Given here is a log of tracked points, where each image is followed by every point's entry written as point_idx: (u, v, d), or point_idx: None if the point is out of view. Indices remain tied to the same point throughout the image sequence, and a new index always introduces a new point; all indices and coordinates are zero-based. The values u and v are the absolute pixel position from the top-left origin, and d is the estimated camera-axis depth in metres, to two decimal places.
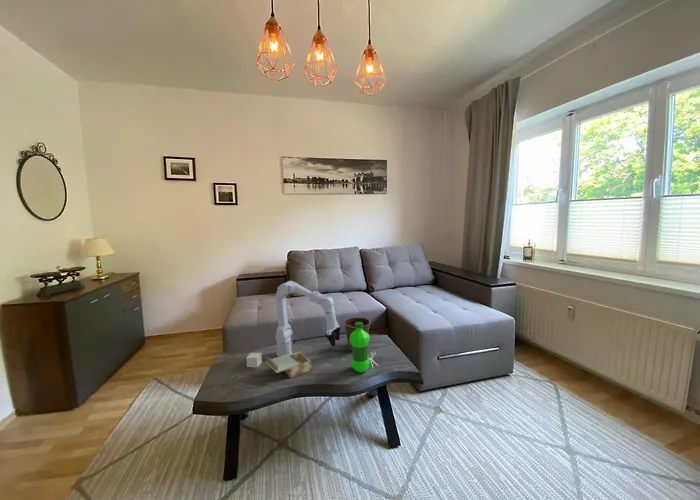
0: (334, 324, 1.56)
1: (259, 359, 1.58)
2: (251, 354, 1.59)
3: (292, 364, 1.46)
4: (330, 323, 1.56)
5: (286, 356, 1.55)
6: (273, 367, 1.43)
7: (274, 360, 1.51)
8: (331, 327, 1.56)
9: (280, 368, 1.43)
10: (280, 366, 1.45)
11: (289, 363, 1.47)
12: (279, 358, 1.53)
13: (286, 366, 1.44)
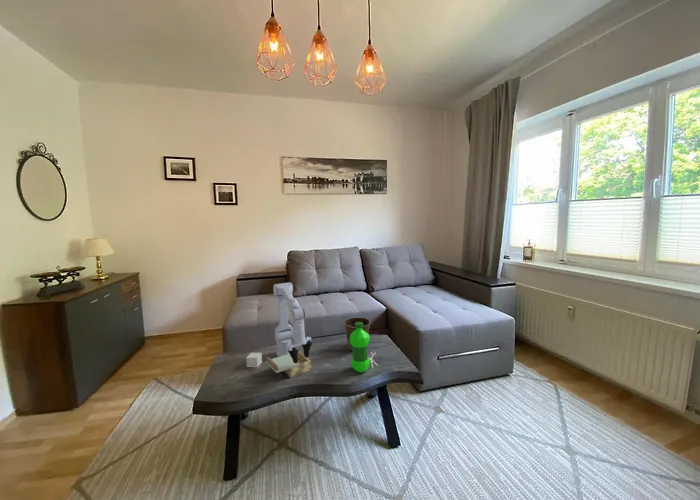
0: (299, 339, 1.39)
1: (259, 359, 1.58)
2: (251, 354, 1.59)
3: (292, 364, 1.46)
4: (295, 337, 1.39)
5: (286, 356, 1.55)
6: (273, 367, 1.43)
7: (274, 360, 1.51)
8: (296, 342, 1.39)
9: (280, 368, 1.43)
10: (280, 366, 1.45)
11: (289, 363, 1.47)
12: (279, 358, 1.53)
13: (286, 366, 1.44)
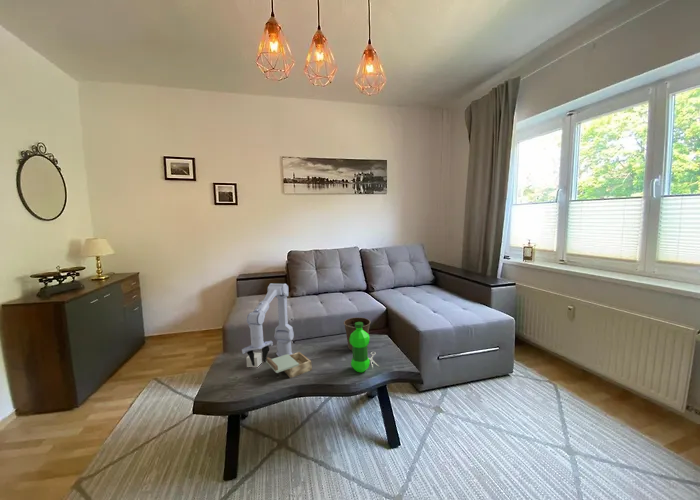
0: (254, 344, 1.38)
1: (259, 359, 1.58)
2: None
3: (292, 364, 1.46)
4: (251, 341, 1.38)
5: (286, 356, 1.55)
6: (273, 367, 1.43)
7: (274, 360, 1.51)
8: (252, 346, 1.38)
9: (280, 368, 1.43)
10: (280, 366, 1.45)
11: (289, 363, 1.47)
12: (279, 358, 1.53)
13: (286, 366, 1.44)
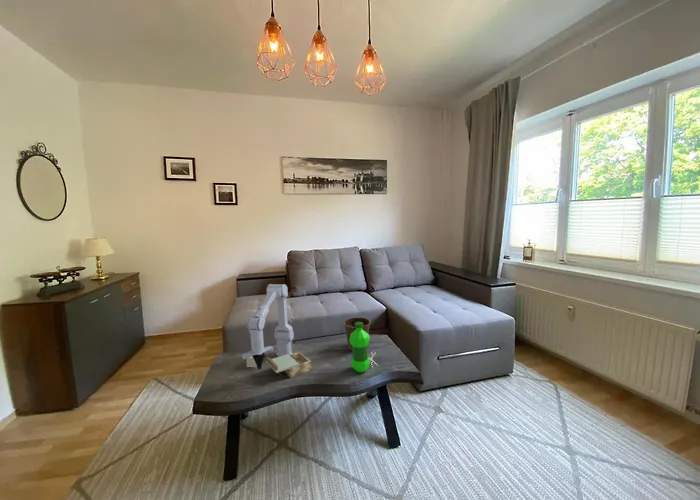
0: (254, 349, 1.38)
1: None
2: None
3: (292, 364, 1.46)
4: (252, 346, 1.39)
5: (286, 356, 1.55)
6: (273, 367, 1.43)
7: (274, 360, 1.51)
8: (252, 351, 1.39)
9: (280, 368, 1.43)
10: (280, 366, 1.45)
11: (289, 363, 1.47)
12: (279, 358, 1.53)
13: (286, 366, 1.44)
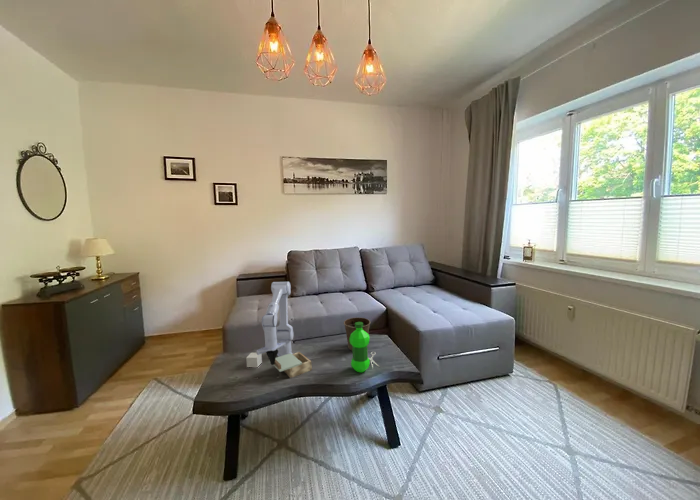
0: (268, 345, 1.42)
1: (259, 359, 1.58)
2: (251, 354, 1.59)
3: (295, 363, 1.47)
4: (265, 343, 1.43)
5: (289, 355, 1.56)
6: (276, 366, 1.44)
7: (277, 359, 1.52)
8: (266, 347, 1.43)
9: (283, 367, 1.44)
10: (283, 365, 1.46)
11: (292, 362, 1.48)
12: (282, 357, 1.54)
13: (289, 365, 1.45)
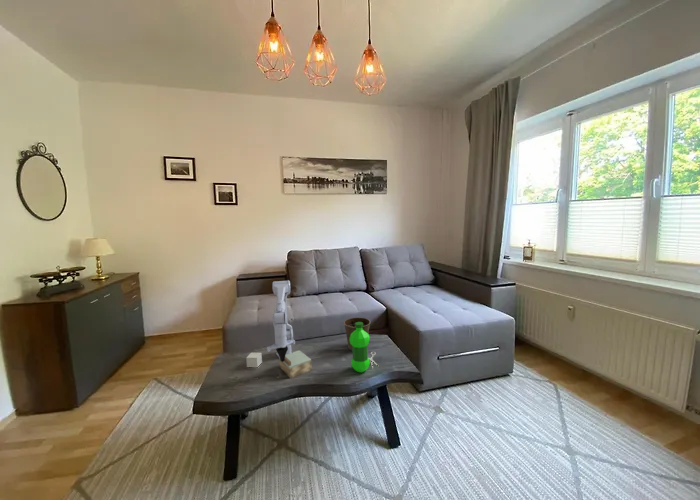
0: (278, 342, 1.45)
1: (259, 359, 1.58)
2: (251, 354, 1.59)
3: (304, 360, 1.50)
4: (275, 340, 1.46)
5: (298, 352, 1.59)
6: (286, 363, 1.47)
7: (286, 356, 1.55)
8: (276, 344, 1.46)
9: (293, 364, 1.47)
10: (293, 361, 1.49)
11: (301, 359, 1.51)
12: (291, 354, 1.57)
13: (299, 362, 1.48)
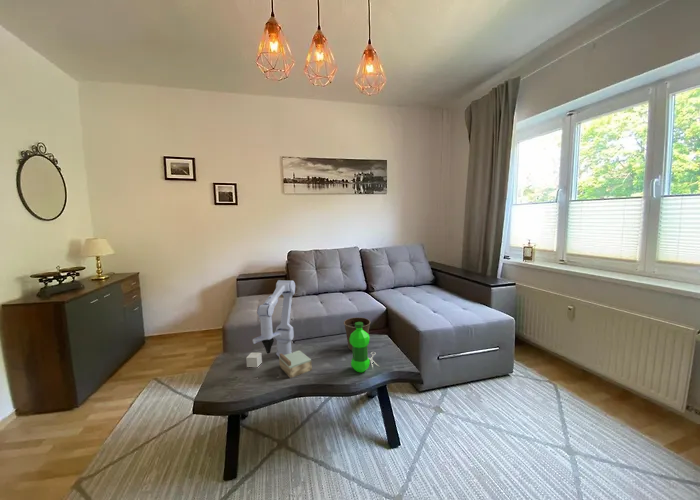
0: (264, 334, 1.46)
1: (259, 359, 1.58)
2: (251, 354, 1.59)
3: (304, 360, 1.50)
4: (261, 332, 1.47)
5: (298, 352, 1.59)
6: (286, 363, 1.47)
7: (286, 356, 1.55)
8: (262, 336, 1.47)
9: (293, 364, 1.47)
10: (293, 361, 1.49)
11: (301, 359, 1.51)
12: (291, 354, 1.57)
13: (299, 362, 1.48)
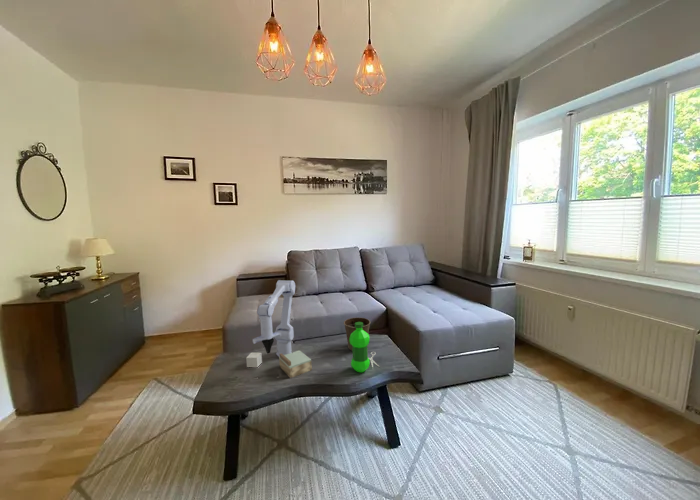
0: (264, 334, 1.46)
1: (259, 359, 1.58)
2: (251, 354, 1.59)
3: (304, 360, 1.50)
4: (261, 332, 1.47)
5: (298, 352, 1.59)
6: (286, 363, 1.47)
7: (286, 356, 1.55)
8: (262, 336, 1.47)
9: (293, 364, 1.47)
10: (293, 361, 1.49)
11: (301, 359, 1.51)
12: (291, 354, 1.57)
13: (299, 362, 1.48)
